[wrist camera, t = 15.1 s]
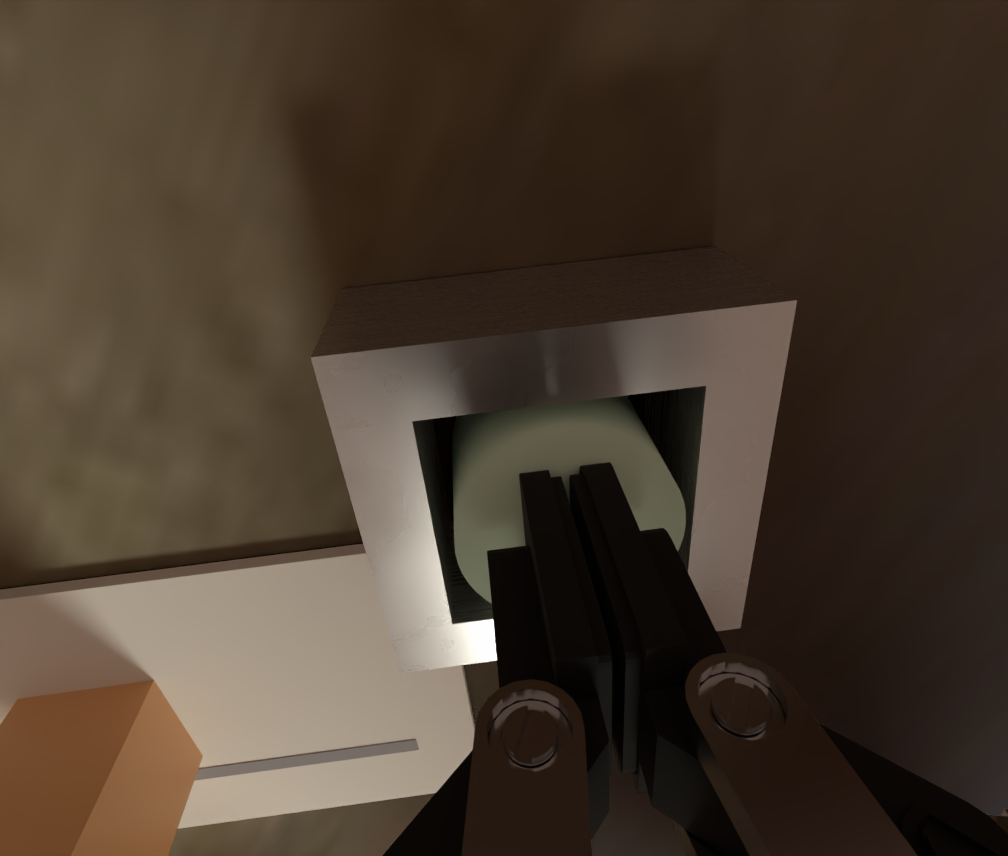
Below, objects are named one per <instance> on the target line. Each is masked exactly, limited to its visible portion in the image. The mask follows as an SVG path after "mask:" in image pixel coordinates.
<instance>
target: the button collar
mask: <svg viewBox="0 0 1008 856" xmlns="http://www.w3.org/2000/svg"><path fill="white" fill-rule="evenodd" d="M796 304H797V300H796V299H795V298H793V297H792V296H790V295H789V294H787V293H785V292H784V291H782V290H781V289H779V288H778V287H776V286H775V285H773V284H772V283H770V282H769V281H767V280H766V279H764V278H763V277H761V276H760V275H758V274H756V273H755V272H753V271H752V270H750V269H749V268H747V267H746V266H744V265H743V264H741V263H740V262H738V261H737V260H735V259H734V258H732V257H731V256H729V255H727V254H726V253H724V252H723V251H721V250H720V249H718V248H717V247H715V246H712V247H703V248H695V249H686V250H677V251H668V252H660V253H651V254H642V255H634V256H625V257H616V258H607V259H599V260H590V261H581V262H573V263H564V264H555V265H546V266H538V267H529V268H520V269H512V270H503V271H494V272H485V273H477V274H468V275H459V276H451V277H442V278H433V279H424V280H416V281H407V282H398V283H390V284H381V285H372V286H363V287H355V288H346V289H342V290H341V292H340V295H339V297H338V299H337V301H336V303H335V306H334V308H333V310H332V312H331V314H330V316H329V319H328V321H327V323H326V325H325V327H324V329H323V332H322V334H321V336H320V338H319V340H318V343H317V345H316V347H315V349H314V351H313V353H312V356H311V361H312V364H313V368H314V371H315V375H316V378H317V382H318V385H319V389H320V392H321V396H322V399H323V403H324V406H325V410H326V414H327V417H328V421H329V424H330V428H331V431H332V435H333V438H334V442H335V445H336V449H337V452H338V456H339V460H340V463H341V467H342V470H343V474H344V477H345V481H346V484H347V488H348V491H349V495H350V498H351V502H352V505H353V509H354V513H355V516H356V520H357V523H358V527H359V530H360V534H361V537H362V541H363V544H364V548H365V551H366V555H367V559H368V562H369V566H370V569H371V573H372V576H373V580H374V583H375V587H376V590H377V594H378V597H379V601H380V604H381V608H382V612H383V615H384V619H385V622H386V626H387V629H388V633H389V636H390V640H391V643H392V647H393V650H394V654H395V658H396V661H397V665H398V668H399V672H400V673H407V672H415V671H422V670H430V669H437V668H445V667H452V666H460V665H467V664H475V663H482V662H490V661H497V654H496V643H495V633H494V622H493V611H492V603H490V602H488V601H487V600H485V599H484V598H483V597H482V596H480V595H479V594H478V593H477V592H476V591H475V590H474V589H473V588H472V587H471V586H470V585H469V583H468V582H467V580H466V579H465V577H464V576H463V574H462V572H461V570H460V568H459V565H458V562H457V558H456V555H455V545H454V521H451V520H450V515H449V509H448V503H447V498H446V492H445V486H444V481H443V475H442V469H441V464H440V458H439V452H438V447H437V441H436V435H435V430H434V424H433V419H436V418H444V417H452V416H460V415H469V414H477V413H485V412H493V411H502V410H510V409H518V408H526V407H535V406H543V405H551V404H559V403H568V402H576V401H584V400H592V399H601V398H609V397H617V396H625V395H634V394H642V393H645V410H644V427H645V429H646V430H647V432H648V434H649V436H650V438H651V439H652V441H653V443H654V445H655V447H656V448H657V450H658V452H659V454H660V455H661V457H662V459H663V461H664V463H665V464H666V466H667V468H668V470H669V471H670V473H671V475H672V477H673V479H674V480H675V482H676V484H677V486H678V488H679V489H680V492H681V494H682V497H683V500H684V505H685V510H686V526H685V532H684V537H683V540H682V543H681V546H680V548H679V550H678V553H679V555H680V557H681V560H682V562H683V564H684V566H685V568H686V570H687V572H688V574H689V576H690V578H691V580H692V582H693V584H694V586H695V588H696V590H697V593H698V595H699V597H700V599H701V601H702V603H703V605H704V607H705V609H706V611H707V613H708V615H709V617H710V619H711V621H712V624H713V626H714V628H715V630H716V631H723V630H731V629H738V628H741V622H742V617H743V611H744V605H745V599H746V593H747V588H748V582H749V576H750V570H751V564H752V559H753V553H754V547H755V541H756V536H757V530H758V524H759V518H760V512H761V507H762V501H763V495H764V489H765V484H766V478H767V472H768V466H769V460H770V455H771V449H772V443H773V437H774V431H775V426H776V420H777V414H778V408H779V403H780V397H781V391H782V385H783V379H784V374H785V368H786V362H787V356H788V351H789V345H790V339H791V333H792V327H793V322H794V316H795V310H796Z"/></svg>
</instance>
